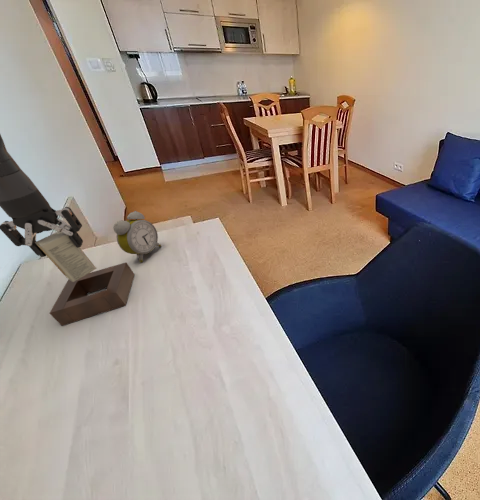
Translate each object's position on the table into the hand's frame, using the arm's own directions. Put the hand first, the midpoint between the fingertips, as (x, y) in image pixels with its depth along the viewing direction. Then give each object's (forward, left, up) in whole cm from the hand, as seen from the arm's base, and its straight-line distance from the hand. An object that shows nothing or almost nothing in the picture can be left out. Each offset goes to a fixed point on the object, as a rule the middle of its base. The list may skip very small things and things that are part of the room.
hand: (62, 250), depth 79 cm
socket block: (0, 0, -17) cm, 17 cm away
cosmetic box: (0, 0, -8) cm, 8 cm away
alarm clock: (+10, +19, -17) cm, 28 cm away
